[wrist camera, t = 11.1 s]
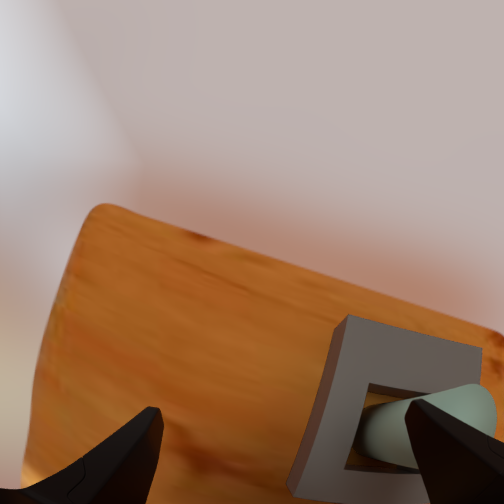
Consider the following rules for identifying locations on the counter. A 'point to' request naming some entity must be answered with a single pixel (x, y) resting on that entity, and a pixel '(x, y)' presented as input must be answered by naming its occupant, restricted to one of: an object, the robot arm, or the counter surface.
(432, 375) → the socket block
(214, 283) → the counter surface
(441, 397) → the teal peg
